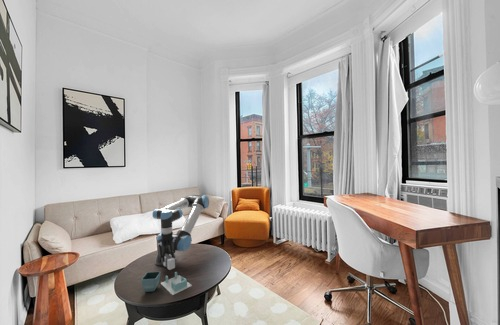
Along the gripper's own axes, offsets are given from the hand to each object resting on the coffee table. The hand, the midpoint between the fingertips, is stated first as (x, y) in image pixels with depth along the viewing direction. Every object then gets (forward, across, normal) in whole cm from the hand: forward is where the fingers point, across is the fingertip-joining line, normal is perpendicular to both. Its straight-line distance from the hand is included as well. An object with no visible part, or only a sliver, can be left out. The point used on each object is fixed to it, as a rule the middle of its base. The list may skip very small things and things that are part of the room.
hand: (167, 264), depth 149 cm
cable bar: (0, 0, 0) cm, 0 cm away
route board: (+6, -3, -18) cm, 19 cm away
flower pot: (+6, -16, -11) cm, 20 cm away
